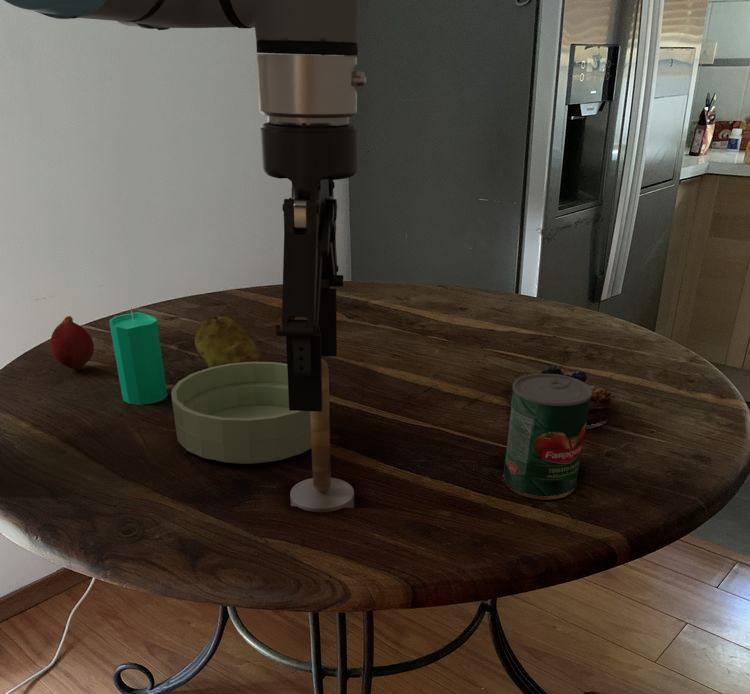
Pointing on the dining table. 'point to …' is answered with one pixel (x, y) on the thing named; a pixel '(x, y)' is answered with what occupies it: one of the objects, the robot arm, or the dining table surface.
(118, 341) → the candle
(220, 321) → the potato
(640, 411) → the dining table surface
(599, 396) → the pastry
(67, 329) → the onion
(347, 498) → the paper towel holder
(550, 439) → the canned tomato
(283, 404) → the bowl
